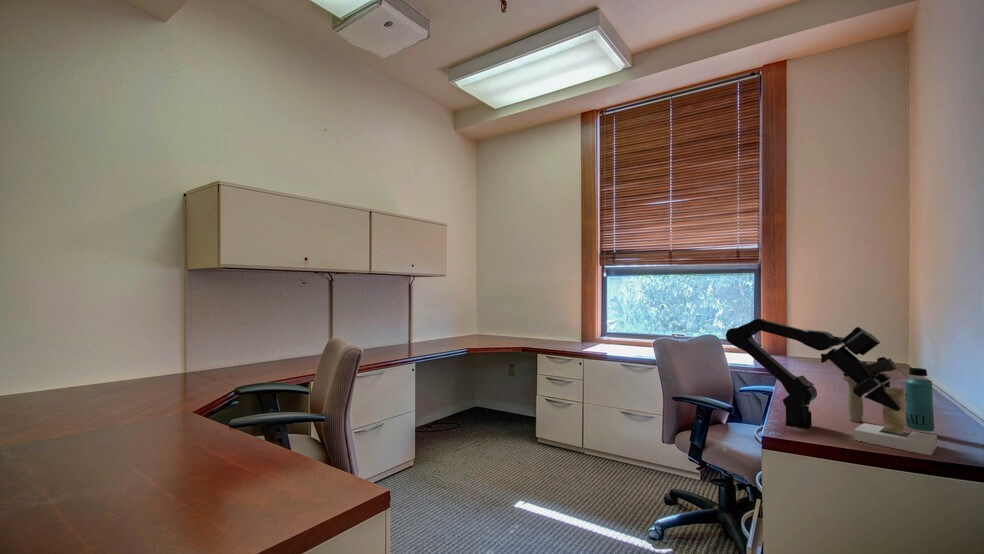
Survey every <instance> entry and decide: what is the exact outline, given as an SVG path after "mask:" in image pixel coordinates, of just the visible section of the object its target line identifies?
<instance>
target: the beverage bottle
mask: <svg viewBox="0 0 984 554" xmlns="http://www.w3.org/2000/svg"><path fill="white" fill-rule="evenodd" d="M908 375H910V376H917V377H928V371H927V369H926V368H920V367H909V369H908ZM904 384H905V385H904V386H905V387H904V400H905V407H904V412H905V425H906V427H907V428H909V429H911V430H914V431H915V430H916V431H923V432H934V430H935V416H934V415H935V414H934V399H933V395H934V394H933V383H932V382H931V381H929V380H928V379H924V378H914V377H910V378H908V379H906V380H905V381H904Z"/></svg>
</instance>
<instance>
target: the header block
mask: <svg viewBox="0 0 984 554" xmlns="http://www.w3.org/2000/svg"><path fill="white" fill-rule="evenodd" d="M853 440H854V441H855V440H857V441H856V442H860V441H862V442H861V443H865V442H866V443H865V444H871V445H876V446H881V447H886V448H891V449H892V448H893V449H895V450H896V449H897V450H902V451H905V452H912V453H917V454H921V455H927V456H932V455H933V453H934V452H935V450H936V449H937V447H938V436H937V435H936V434H930V433H926V432H925V433H924V432H918V431H912V430H907V429H905V432H904V433H903V434H899V433H894V432H888V431H883V425H877V424H872V423H865V422H862V424H860V425H859V426H857V427H855V429H853Z"/></svg>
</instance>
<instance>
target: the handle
mask: <svg viewBox="0 0 984 554" xmlns="http://www.w3.org/2000/svg"><path fill="white" fill-rule="evenodd" d="M842 380H843V381H845V382H846V383H847V385H848V389H847V390H848V393H847V395H848V396H847V409H848V415H849V421H852V422H855V423H863V416H864V415H863V414H864V402H863V396H861V397H858V396H857V395H856V394H855V393H854V392H853V388H854V387H855V385H857V384H856V383H855V382H853V381H852V380H851V379H850V378H849V377H848V376H847V377H845V376H844V375H843V374H842Z"/></svg>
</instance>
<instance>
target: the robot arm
mask: <svg viewBox="0 0 984 554" xmlns="http://www.w3.org/2000/svg"><path fill="white" fill-rule="evenodd" d="M759 332H764V333H768V334H772V335H776V336H779V337H781V338H782V337H783V338H786V339H790V340H794V341H797V342H799V343H801V344H803V345H805V346H807V347H809V348H811V349H814V350H815V351H827V350H829V349H830V350H829V351H828V352H826V353H821V354H820V357H821V358H820V362H821V363H822V364H823V363H827V362H829V361H830V362H831V363H832V364H833V365H834V366H835V367H836V368H838V369H839V371H841V372H842V373H843V374H842V376H843V375H844V376H845V377H847V376H848V377H849V378H850V379H851V380H852V381H853V382H855V383H856V384H857V385H855V387H854V388H853V392H854V393H855V394H856V395H857V396H858V397H861V396H862V397H863V396H864V399H868V400H870V401H872V402H874V403H878V404H880V405H882V406H883V405H884V406H887V407H889V408H891V409H893V410H896V411H898V410H900V408H899V406H898V405H897V404H896V403H895V402H894V401H893V399H892V398H891V397H890V396H889V395H888V394H887V393H886V391H885V387H891V381H890V379H892V377H891V376H890V375H889V374H888V373H885V372H892V371H895V370H897V369H898V368H897V366H896V365H895V364H894V363H895V362H894V360H892V359H891V358H887V357H886V356H882V357H881V356H880V357H877V358H876V362H873V363H868V362H866V361H861V360H860V359H859V358H857V356H858V355H861V356H864V355H866V354H867V353H869V352H870V351H872V350H873V349H874V348H875V347H876V346H878V345H880V344H881V341H880V340H878V338H876V336H874V335H873V334H871V333H869V332H867V331H866V330H865V329H863V328H861V327H860V326H857V327H854V329H852V331H851V332H850V333H849V334H847V335H846V336H845V337H842V336H834V335H833V334H832V333H831V332H829V331H824V330H823V331H822V330H813V329H801V328H798V327H794V326H789V325H786V324H782V323H778V322H774V321H770V320H767V319H765V318H754V319H753V320H751V321H750V322H746V323H745V324H743V325H740V326H738V327H731V328H729V329H728V330H727V331H726V333H725V338H726V341H727V342H728V343H730V344H731V345H733V346H734V347H736V348H737V349H740V350H741V351H743V352H746V353H747V354H748V355H749V356H751V357H752V358H753V359H754V361H756V362H757V363H758V364H759V365H760V366H762V367H763V368H764V369H765V370H766V371H767V372H769V374H771V376H773V377H775V378H776V380H778V381H779V382H780V383H781V384H782V386H783V388H784V389H785V391H786V393H787V394H788V395H787V396H786V397H784V398H783V399H782V402H783V405H784V407H785V423H784V424H785V425H786V426H790V427H798V428H805V429H810V428H811V426H812V425H813V424H812V411H811V410H810V403H811V402H813V401H814V400H816V399H817V397H818V390H817V388H816V387H815V383H812V382H810V380H809V379H808V378H806V377H805V376H804V375H799V376H796V375H794V374H793V373H791V372H790V371H789V370H788V369H786V368H785V367H784V366H783V365H782V364H781V363H780V362H779V361H778V360H777V359H775V358H774V357H773V356H772V355H770V354H769V353H768V352H767V351H766V350H765V349H763V348H762V347H761V346H760V345H759V344H758V343H757V341H756V339H755V338H754V335H756V334H759ZM835 346H836V347H837V346H841V347H839V348H835ZM833 347H834V348H833Z"/></svg>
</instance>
